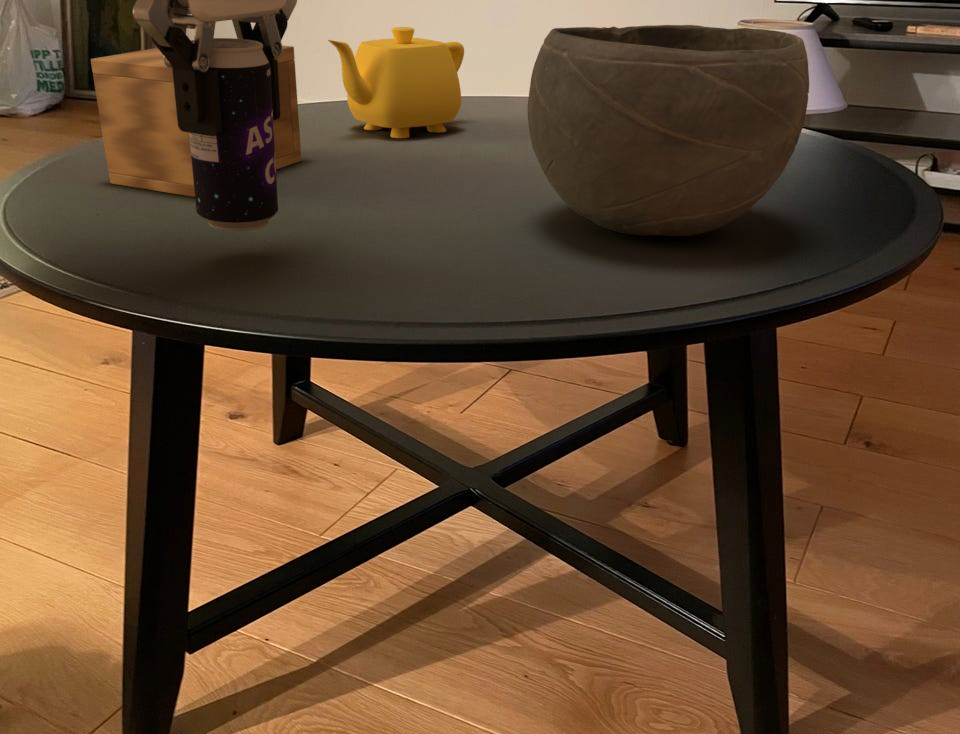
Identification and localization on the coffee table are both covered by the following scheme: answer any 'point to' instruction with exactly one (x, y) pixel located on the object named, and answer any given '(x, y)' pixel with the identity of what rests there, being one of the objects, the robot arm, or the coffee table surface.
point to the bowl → (666, 122)
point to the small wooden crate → (168, 121)
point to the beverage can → (238, 142)
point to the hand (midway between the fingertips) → (230, 122)
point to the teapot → (402, 82)
